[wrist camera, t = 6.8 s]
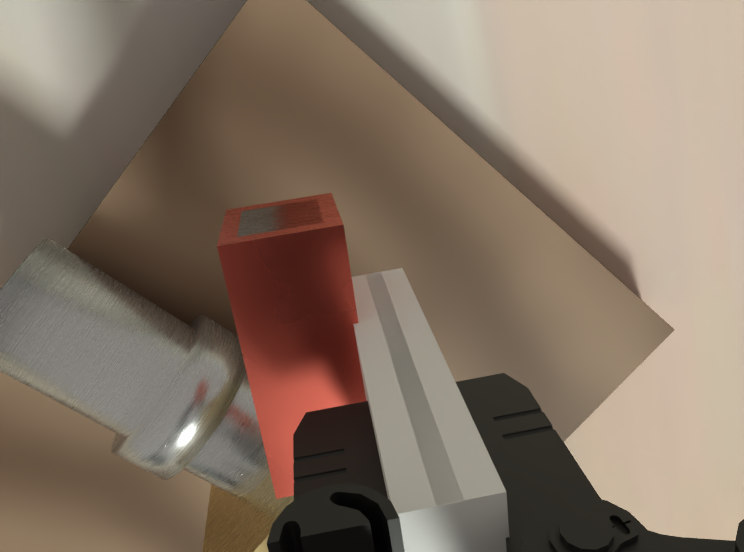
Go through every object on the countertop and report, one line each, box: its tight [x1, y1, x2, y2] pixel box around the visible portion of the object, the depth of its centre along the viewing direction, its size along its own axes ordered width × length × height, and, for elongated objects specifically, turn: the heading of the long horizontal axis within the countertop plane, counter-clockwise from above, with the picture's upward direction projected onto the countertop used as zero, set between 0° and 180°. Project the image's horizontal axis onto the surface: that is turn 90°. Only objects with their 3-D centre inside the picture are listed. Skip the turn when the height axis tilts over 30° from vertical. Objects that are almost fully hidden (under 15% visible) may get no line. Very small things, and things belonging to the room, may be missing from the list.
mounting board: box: [0, 0, 674, 552], centre depth 23 cm, size 22×18×2 cm
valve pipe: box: [0, 238, 294, 552], centre depth 19 cm, size 6×19×7 cm, turn 50°
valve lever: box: [217, 193, 366, 499], centre depth 13 cm, size 12×3×2 cm, turn 7°
